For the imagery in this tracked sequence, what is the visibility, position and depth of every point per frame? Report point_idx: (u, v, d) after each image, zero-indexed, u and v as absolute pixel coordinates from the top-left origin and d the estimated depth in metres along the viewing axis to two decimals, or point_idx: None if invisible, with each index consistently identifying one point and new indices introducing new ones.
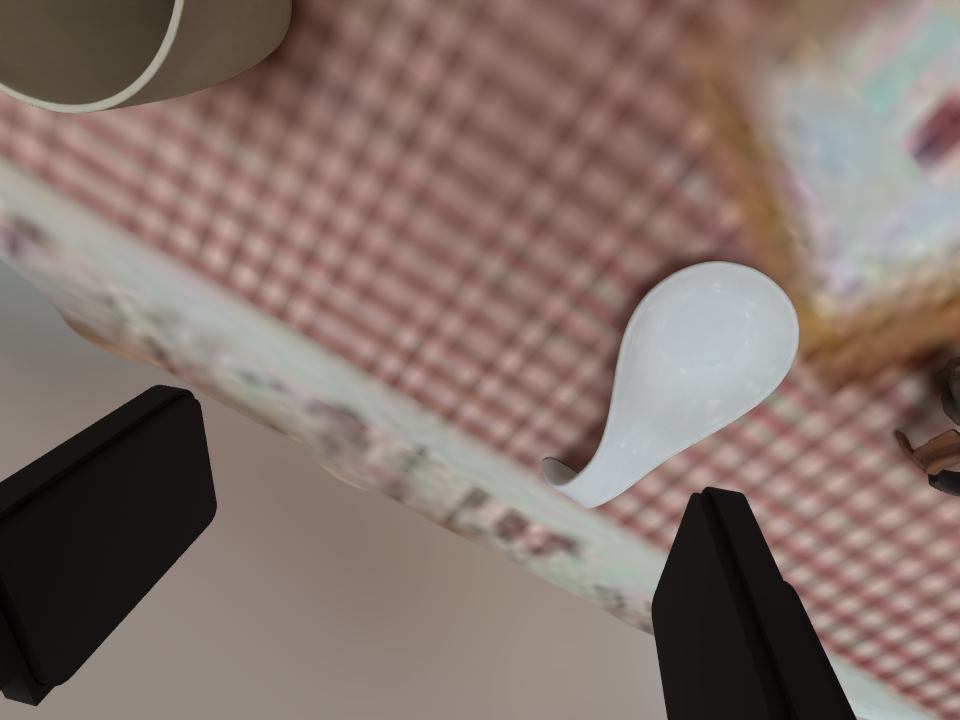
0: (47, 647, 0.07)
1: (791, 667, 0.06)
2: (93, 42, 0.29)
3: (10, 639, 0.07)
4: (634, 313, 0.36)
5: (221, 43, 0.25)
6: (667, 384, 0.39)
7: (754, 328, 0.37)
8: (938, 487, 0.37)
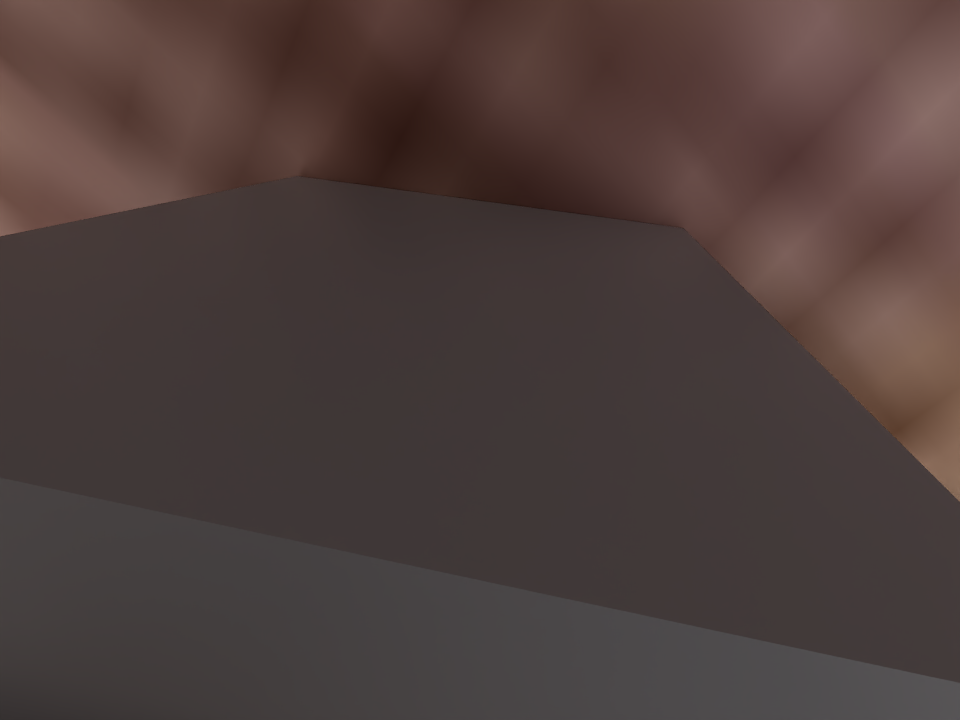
0: None
1: None
2: None
3: None
4: None
5: None
6: None
7: None
8: None
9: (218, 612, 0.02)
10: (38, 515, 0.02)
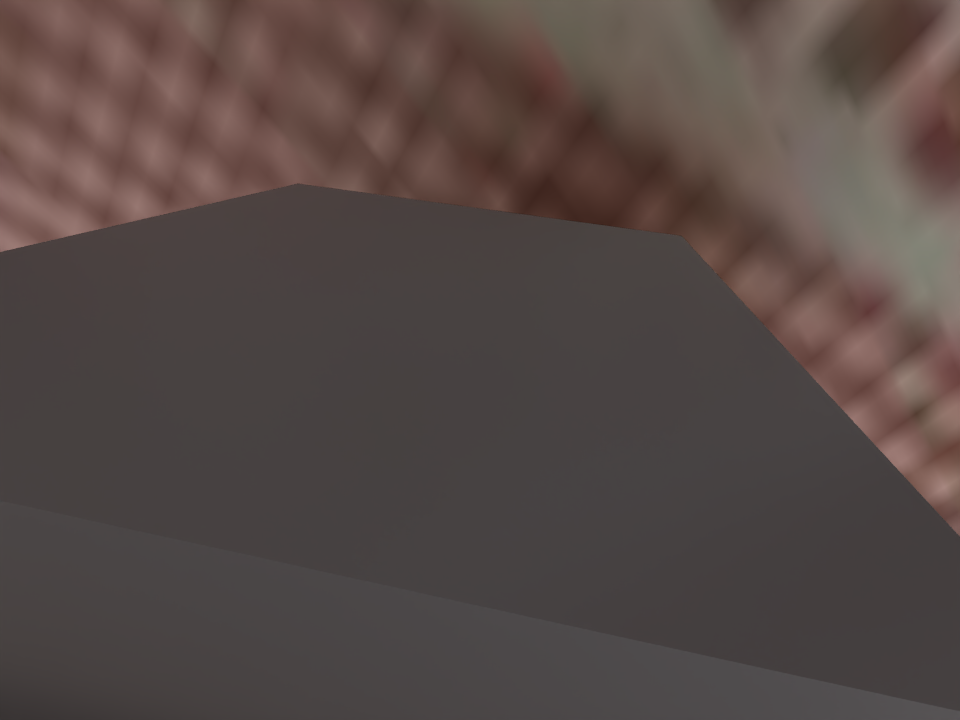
0: None
1: None
2: None
3: None
4: None
5: None
6: None
7: None
8: None
9: (224, 632, 0.02)
10: (48, 539, 0.02)
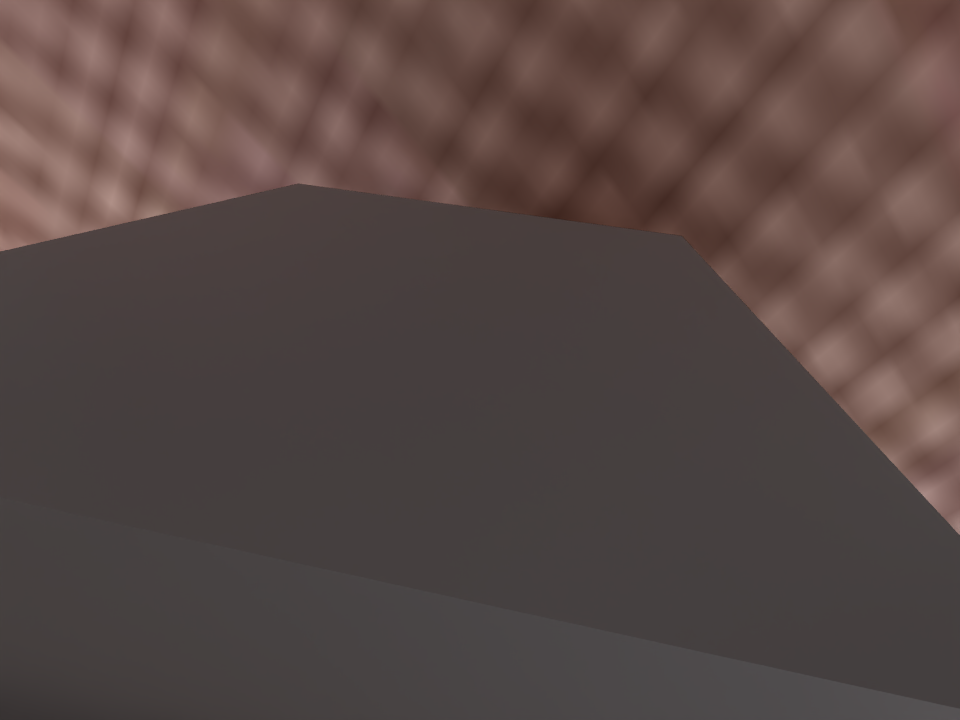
0: None
1: None
2: None
3: None
4: None
5: None
6: None
7: None
8: None
9: (224, 628, 0.02)
10: (49, 536, 0.02)
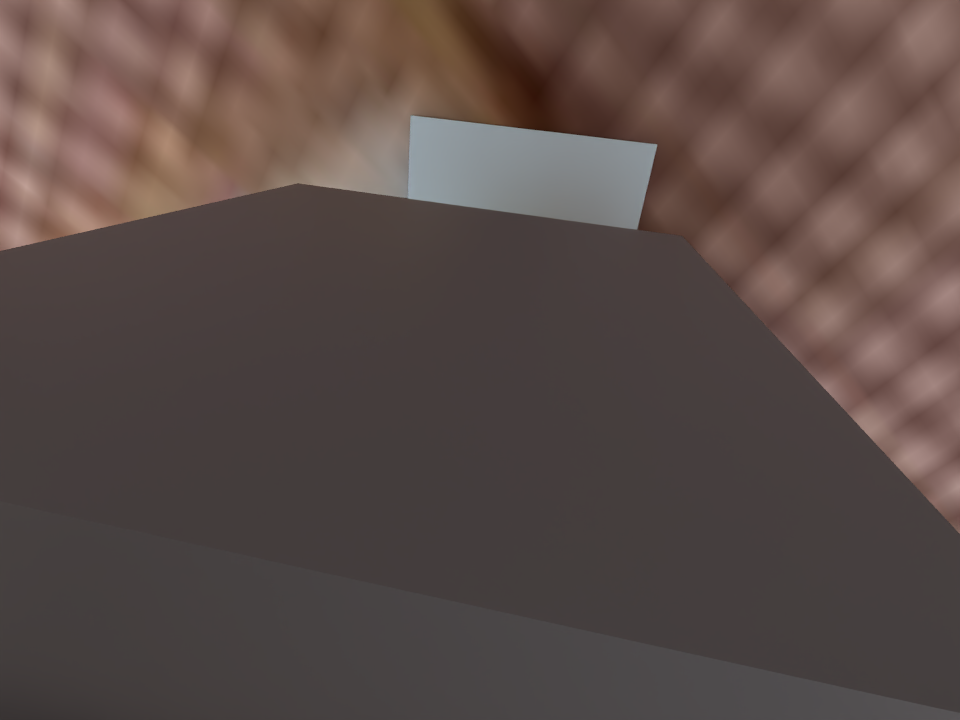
0: None
1: None
2: None
3: None
4: None
5: None
6: None
7: None
8: None
9: (222, 632, 0.02)
10: (44, 539, 0.02)
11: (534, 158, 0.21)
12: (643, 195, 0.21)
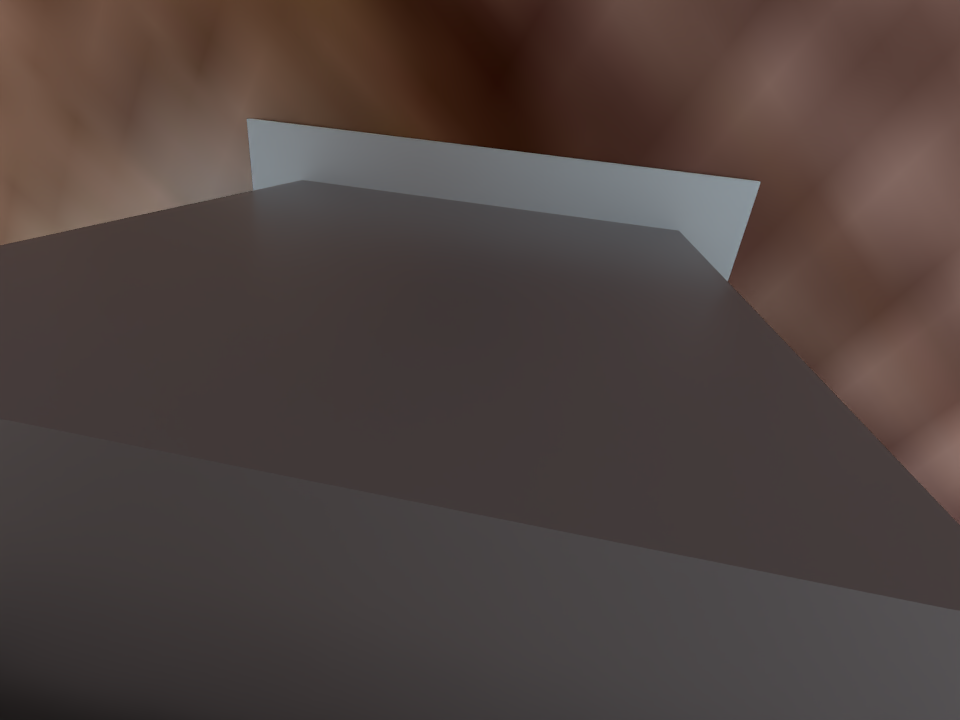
0: None
1: None
2: None
3: None
4: None
5: None
6: None
7: None
8: None
9: (268, 552, 0.03)
10: (117, 469, 0.03)
11: None
12: None
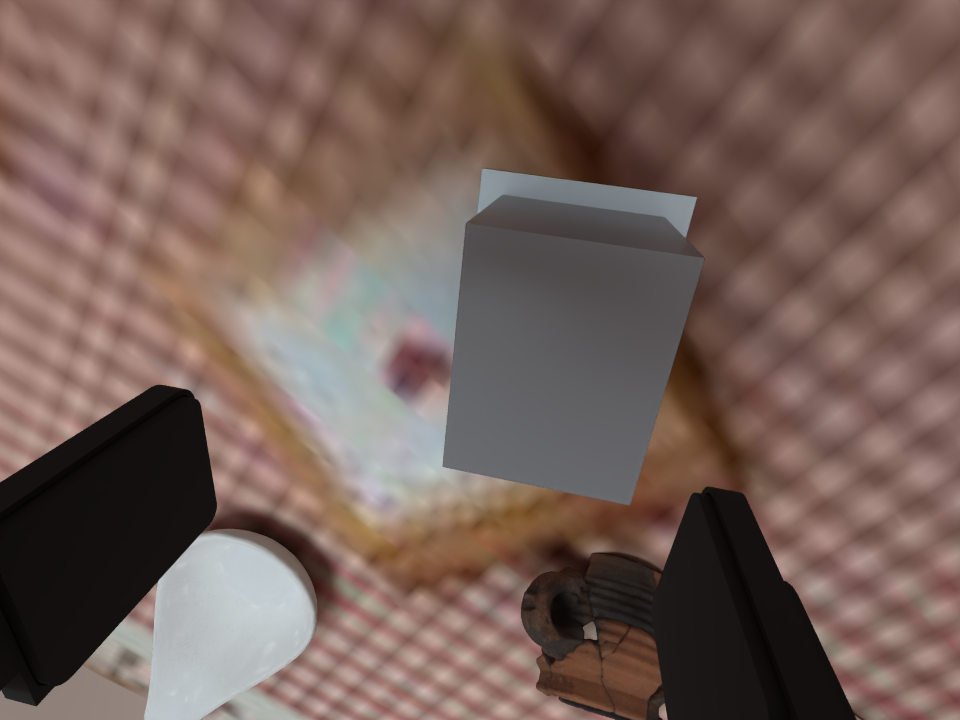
0: (47, 647, 0.07)
1: (791, 667, 0.06)
2: None
3: (10, 639, 0.07)
4: None
5: None
6: (237, 622, 0.39)
7: None
8: None
9: (588, 258, 0.17)
10: (565, 243, 0.17)
11: (588, 206, 0.24)
12: None
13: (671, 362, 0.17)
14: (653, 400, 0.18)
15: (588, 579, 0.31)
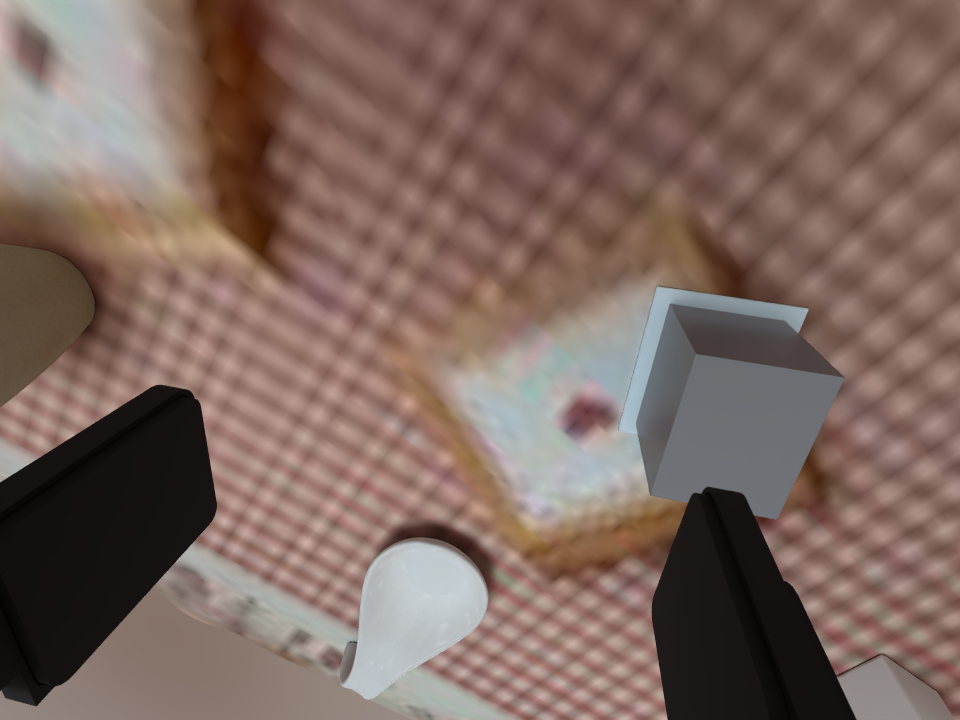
0: (47, 647, 0.07)
1: (791, 667, 0.06)
2: None
3: (10, 639, 0.07)
4: (367, 571, 0.47)
5: None
6: (413, 608, 0.51)
7: (466, 574, 0.48)
8: None
9: (771, 375, 0.28)
10: (758, 367, 0.27)
11: (731, 312, 0.35)
12: None
13: (816, 434, 0.29)
14: (801, 456, 0.29)
15: None
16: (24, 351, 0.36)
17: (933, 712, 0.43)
